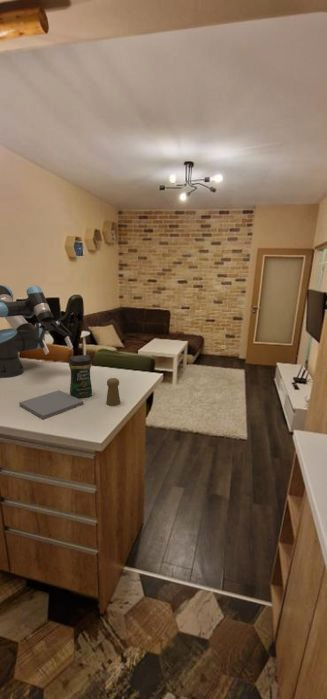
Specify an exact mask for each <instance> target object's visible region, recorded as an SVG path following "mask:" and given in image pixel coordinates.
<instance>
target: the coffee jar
mask: <svg viewBox="0 0 327 699" xmlns="http://www.w3.org/2000/svg"><path fill="white" fill-rule="evenodd" d="M68 367H69V369H70V384H69V385H70V387H69V395H71V396H73V397H75V398H78V399H80V398H86V397H87V398H88V397H90V396H92V393H93V389H92V380H91V368H92V359H91V357H90V355H88V354H84V355H83V354H82V355H71V356H69V361H68Z"/></svg>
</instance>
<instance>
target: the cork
mask: <svg viewBox="0 0 327 699" xmlns="http://www.w3.org/2000/svg"><path fill="white" fill-rule="evenodd" d="M106 385H107V392H106V403H105V404H106V405H107V406H110V407H115V406H119V405H120V404H121V399H120V392H119V385H120V379H119V378H116V377H111V378H108V379H107V380H106Z"/></svg>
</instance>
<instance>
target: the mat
mask: <svg viewBox="0 0 327 699" xmlns="http://www.w3.org/2000/svg"><path fill="white" fill-rule="evenodd" d="M84 403H85V402H84V400H83V399H80V398H75V397H73V396H71V395H70V393H69V394H68V393H66V392H64V391H62V390H60V389H59V390H56V391H52V392H50V393H45V394H43V395H39V396H37V397H36V396H35V397H32V398H29V399H26V400H23V401H20V402H19V404H18V405H19V407H20V408H23V409H24V410H26V411H28V412H30V413H31V414H33V415H34V416H37V417H38V418H39V419H42V420H46V419H48V418H51V417H54V416H56V415H59V414H61V413H64V412H66V411H70V410H73V409H75V408H77V407H81V406H83V405H84Z"/></svg>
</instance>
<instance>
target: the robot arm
mask: <svg viewBox="0 0 327 699" xmlns="http://www.w3.org/2000/svg"><path fill="white" fill-rule="evenodd" d="M25 292H26V295H27V298H26V299H25V300H20V301H19V300H17V301H15V300H14V294H13V291H12V289H11V288H10V287H9V286H7V285H2V284H1V285H0V318H4V319H5V320H6V322H7V323H8V325H9V326H10V327H11V328H3V329H0V378H12V377H17V376H19V375H22V374H23V373H24V371H25V370H24V366H23V363H22V362H21V359H20V353H22V352H27V351H34V350H38V349H42V350H43V352H44V354H45V355H48V354H49V353H50V350H49V348H48V346H47V344H46V336H45V333H46V332H50V331H54V332H56V333H58V334H59V335H60V336H62V337H64V341H65V343H66V345H67V347H68V350H72V349H73V348H74V346H73V343H72V338H71V336H72V335H73V334H72V331H70V330H69V329H68V328H67V326H66V325H64V324H63V322H62V321H61V320H60V319H58V320H57V321H56V320H55V318H54V315H53V313H52V312H51V309H50V306H49V304H48V301H47V299H46V296H45V294H44V291H43V289H42V288H41V287H40V286H38V285H31V286H29V287H28V288H27V289H26V291H25ZM34 315H35V316H36V319H37V320H38V322H36V323H35V324H34V325H33V324H32V323H31V322H28V321H27V320H26V319H31V318H32V317H34Z"/></svg>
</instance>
